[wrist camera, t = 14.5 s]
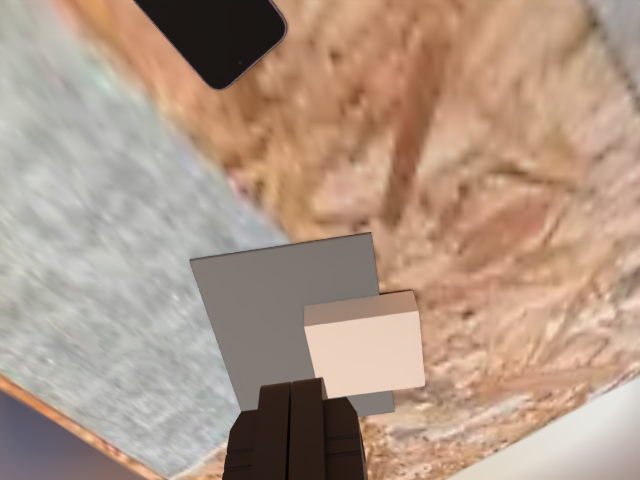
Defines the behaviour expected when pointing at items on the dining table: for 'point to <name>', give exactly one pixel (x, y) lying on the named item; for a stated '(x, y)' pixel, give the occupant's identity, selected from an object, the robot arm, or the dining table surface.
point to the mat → (282, 309)
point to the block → (366, 344)
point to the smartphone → (218, 34)
